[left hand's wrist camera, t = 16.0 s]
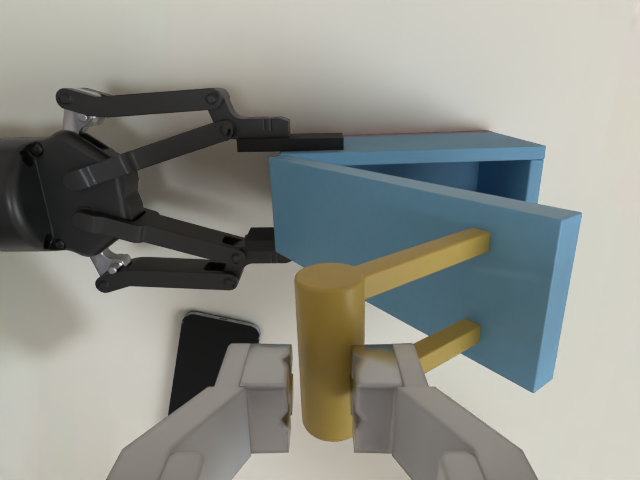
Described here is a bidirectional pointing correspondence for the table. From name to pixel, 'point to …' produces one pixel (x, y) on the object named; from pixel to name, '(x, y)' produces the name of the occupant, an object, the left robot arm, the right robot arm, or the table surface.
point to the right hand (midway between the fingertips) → (341, 191)
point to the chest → (446, 160)
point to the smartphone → (205, 353)
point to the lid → (417, 276)
